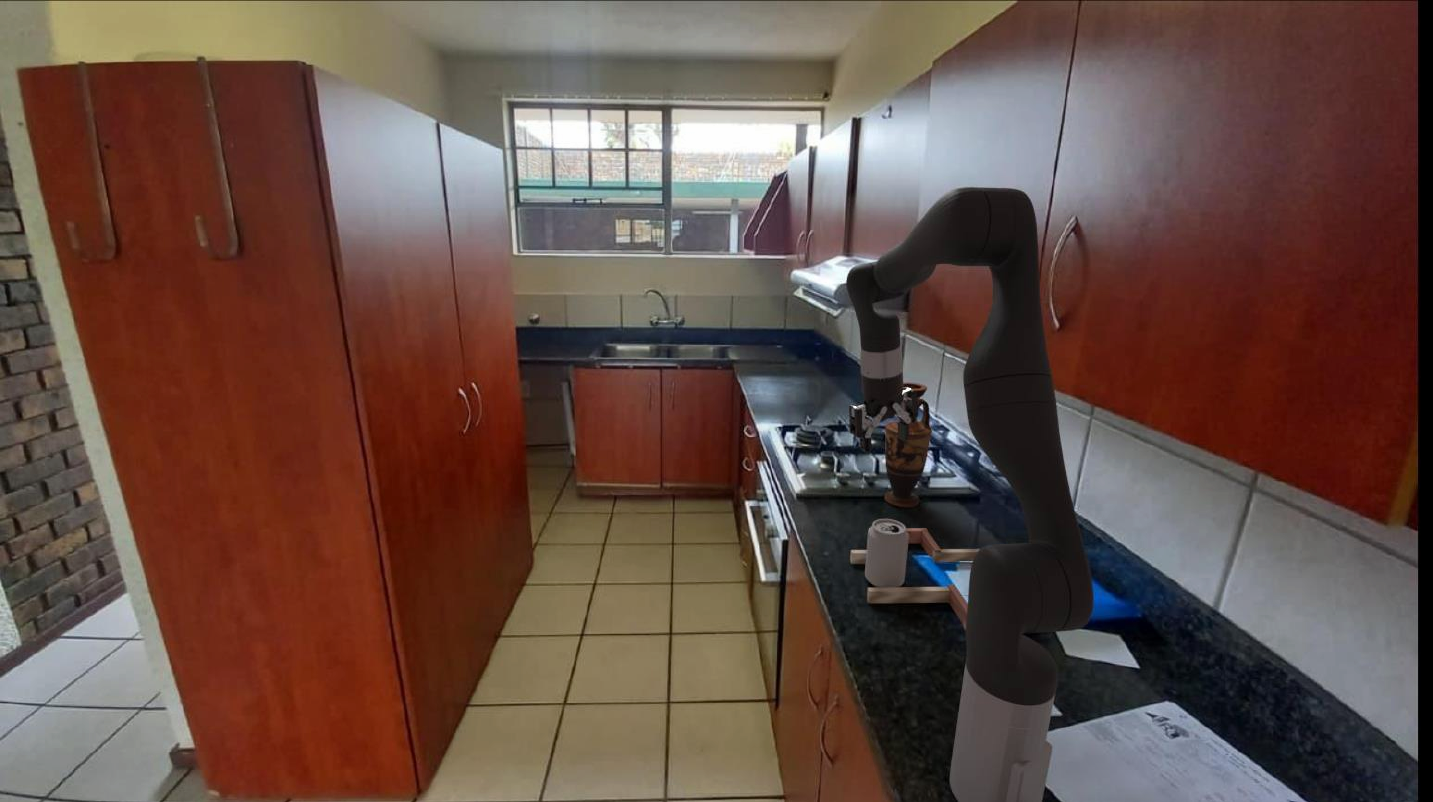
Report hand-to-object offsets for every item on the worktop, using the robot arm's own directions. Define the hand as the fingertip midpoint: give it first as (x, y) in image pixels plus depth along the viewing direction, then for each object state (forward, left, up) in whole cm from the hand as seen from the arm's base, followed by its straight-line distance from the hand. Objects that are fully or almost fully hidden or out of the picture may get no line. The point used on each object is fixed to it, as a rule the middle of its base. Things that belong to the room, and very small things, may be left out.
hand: (885, 445), depth 115 cm
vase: (+15, -26, -25) cm, 39 cm away
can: (-7, +5, -25) cm, 26 cm away
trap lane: (-13, -5, -25) cm, 28 cm away
